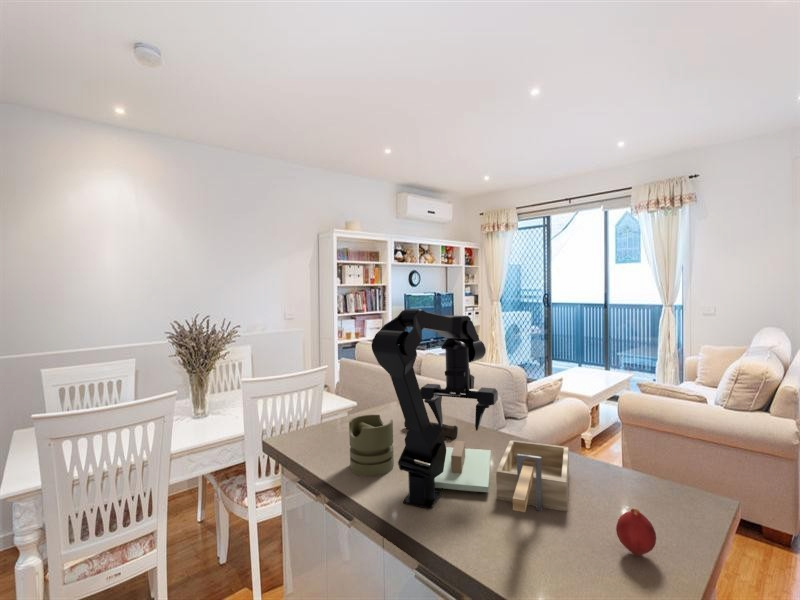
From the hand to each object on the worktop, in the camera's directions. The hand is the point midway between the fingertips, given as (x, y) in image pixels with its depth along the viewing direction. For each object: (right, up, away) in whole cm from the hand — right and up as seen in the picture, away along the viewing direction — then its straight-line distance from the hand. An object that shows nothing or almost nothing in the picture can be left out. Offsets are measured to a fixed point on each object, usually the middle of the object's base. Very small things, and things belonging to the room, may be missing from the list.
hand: (458, 428), depth 101 cm
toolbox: (+17, -11, -7) cm, 21 cm away
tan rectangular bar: (+8, -4, -26) cm, 27 cm away
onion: (+25, -11, -33) cm, 43 cm away
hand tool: (-6, -11, +28) cm, 31 cm away
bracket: (+12, -11, -18) cm, 24 cm away
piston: (-22, -12, +4) cm, 25 cm away
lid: (0, -11, 0) cm, 11 cm away
